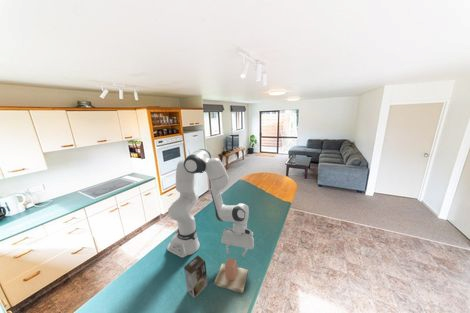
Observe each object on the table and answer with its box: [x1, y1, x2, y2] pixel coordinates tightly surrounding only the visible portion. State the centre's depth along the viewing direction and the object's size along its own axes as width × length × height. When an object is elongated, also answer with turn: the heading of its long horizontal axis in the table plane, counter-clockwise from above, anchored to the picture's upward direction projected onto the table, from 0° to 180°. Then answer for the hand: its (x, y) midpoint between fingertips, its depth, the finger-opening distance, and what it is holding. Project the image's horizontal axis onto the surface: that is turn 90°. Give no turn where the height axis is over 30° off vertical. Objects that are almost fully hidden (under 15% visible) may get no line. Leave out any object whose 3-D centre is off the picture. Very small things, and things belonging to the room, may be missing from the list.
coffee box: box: [183, 255, 209, 299], centre depth 87 cm, size 9×6×16 cm
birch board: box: [213, 263, 249, 294], centre depth 93 cm, size 16×12×2 cm
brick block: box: [224, 257, 238, 281], centre depth 92 cm, size 5×5×9 cm
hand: (235, 255), depth 98 cm, fingers open, 8 cm apart
